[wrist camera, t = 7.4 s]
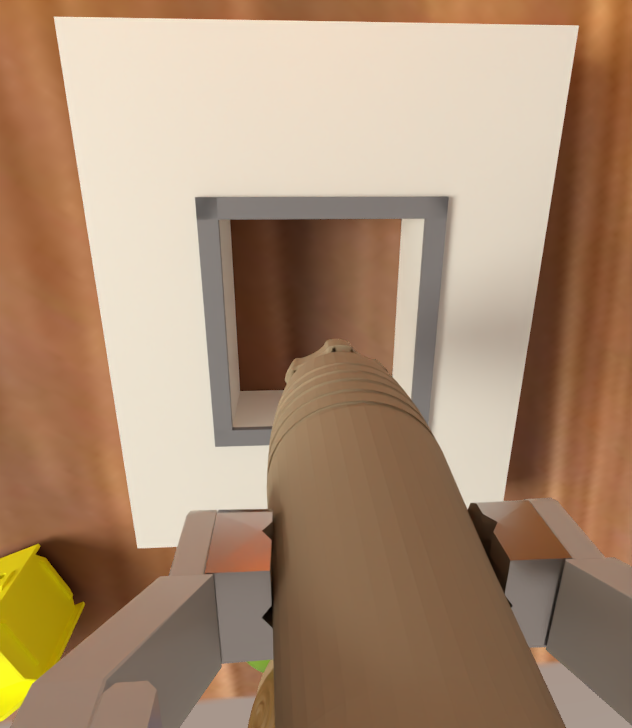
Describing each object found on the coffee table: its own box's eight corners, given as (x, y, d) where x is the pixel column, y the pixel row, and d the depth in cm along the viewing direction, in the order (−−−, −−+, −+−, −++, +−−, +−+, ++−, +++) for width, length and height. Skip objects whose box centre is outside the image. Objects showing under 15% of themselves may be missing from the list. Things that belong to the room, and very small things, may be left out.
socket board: (96, 45, 20) (49, 14, 16) (527, 51, 21) (583, 23, 17) (156, 498, 28) (135, 552, 24) (470, 487, 29) (500, 538, 25)
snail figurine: (347, 552, 30) (384, 774, 19) (300, 625, 32) (308, 866, 21) (266, 522, 29) (254, 739, 18) (221, 599, 31) (186, 839, 20)
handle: (421, 446, 18) (957, 1516, 4) (237, 446, 17) (15, 1649, 3) (438, 312, 16) (1579, 1331, 2) (234, 308, 16) (-275, 1568, 1)
